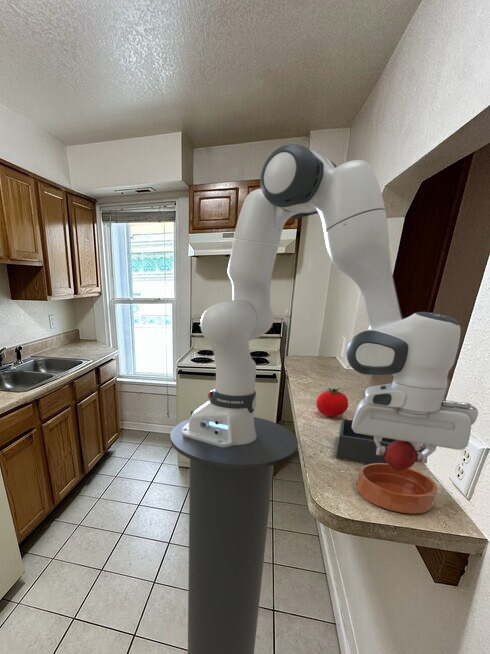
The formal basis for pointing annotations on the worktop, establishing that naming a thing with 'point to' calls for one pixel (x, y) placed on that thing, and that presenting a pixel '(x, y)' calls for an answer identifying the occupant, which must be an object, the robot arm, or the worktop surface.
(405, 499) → the bowl
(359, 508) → the worktop surface
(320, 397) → the tomato
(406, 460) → the pomegranate
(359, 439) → the bin
